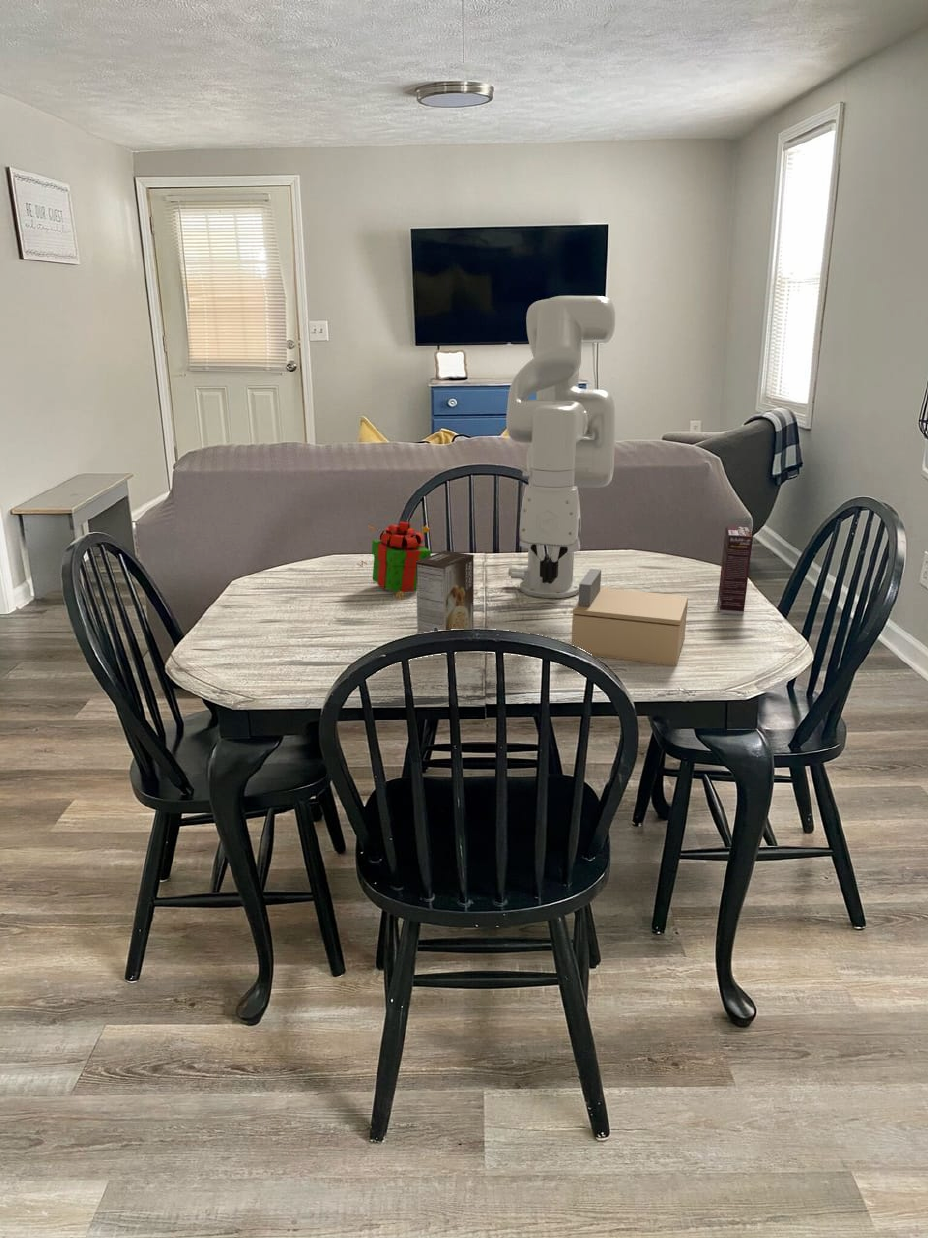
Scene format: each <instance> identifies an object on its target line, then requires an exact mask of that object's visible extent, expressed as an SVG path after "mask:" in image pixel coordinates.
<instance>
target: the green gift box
mask: <svg viewBox="0 0 928 1238" xmlns="http://www.w3.org/2000/svg"><path fill="white" fill-rule="evenodd" d="M367 528H369V532H370V531H371V530H372V529H373V533H374V532H375V527H372V526H370V525H368V526H367ZM421 530H422V532H420V531H415V529H414V528H413V527H411V523H410V522H404V521H399V523H398V525H395V524H390V525H389V526H387V527H386V528H385V529H384V530H383V531H382V532H381V533H380V535H379V539H378V540H377V539H375V540H374V539H373V540H372V544H371V545H372V547H371V554H372V555H373V556H374V557H373V568H372V569H373V570H372V580H373V582H375V583H376V584H377V585H378V586H379V587H381V588H383V589H387V590H389V591H390V592H394V591H398V592H397V593H396V597H398V598H399V599H403V598H404V595H405V594H404V592H413V591H414V590H417V588H416V562H417V561H419V560H422V559H424V558H427V557H429V556H432V550H431V549H429V548H426V546H425V545H423V542H424V535H423V534H425V533H426V534H429V531H430V530H431V528H430V527H428V525H424V527H421ZM363 563H364V564H365V565H368V562H367V563H366V561H364V560H361V564H360V563H357V565H358V566H359V567H361V568H363V566H364V565H363ZM401 594H402V596H401Z"/></svg>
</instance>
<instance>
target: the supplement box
mask: <svg viewBox="0 0 928 1238" xmlns="http://www.w3.org/2000/svg"><path fill="white" fill-rule="evenodd" d="M724 531H725V532H724V539H723V540H724V541H723V550H722V558H721V559H722V560H721V569H720V576H719V587H718V597H717V603H718V610H719V614H721V615H729V614H730V615H733V616H744V614H745V606H746V598H747V590H748V584H749V583H748V581H749V574H750V573H749V572H750V564H751V557H752V556H751V555H752V547H753V539H754V537H753V534H752V532H751V528H750V527H749V526H738V525H726V526H725V530H724Z"/></svg>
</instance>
